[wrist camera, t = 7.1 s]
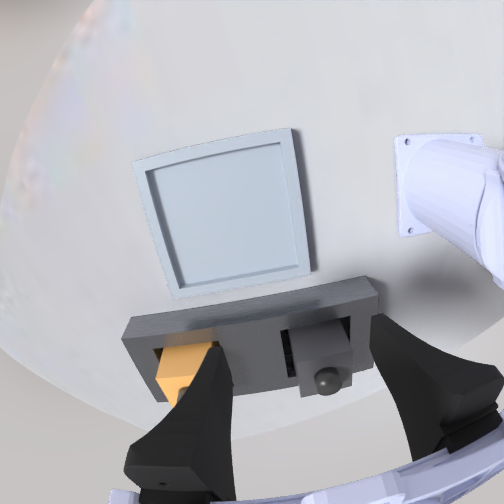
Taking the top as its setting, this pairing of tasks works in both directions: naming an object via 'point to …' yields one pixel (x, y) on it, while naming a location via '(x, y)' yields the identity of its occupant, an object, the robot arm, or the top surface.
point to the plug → (180, 368)
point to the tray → (226, 213)
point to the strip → (256, 333)
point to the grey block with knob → (321, 357)
